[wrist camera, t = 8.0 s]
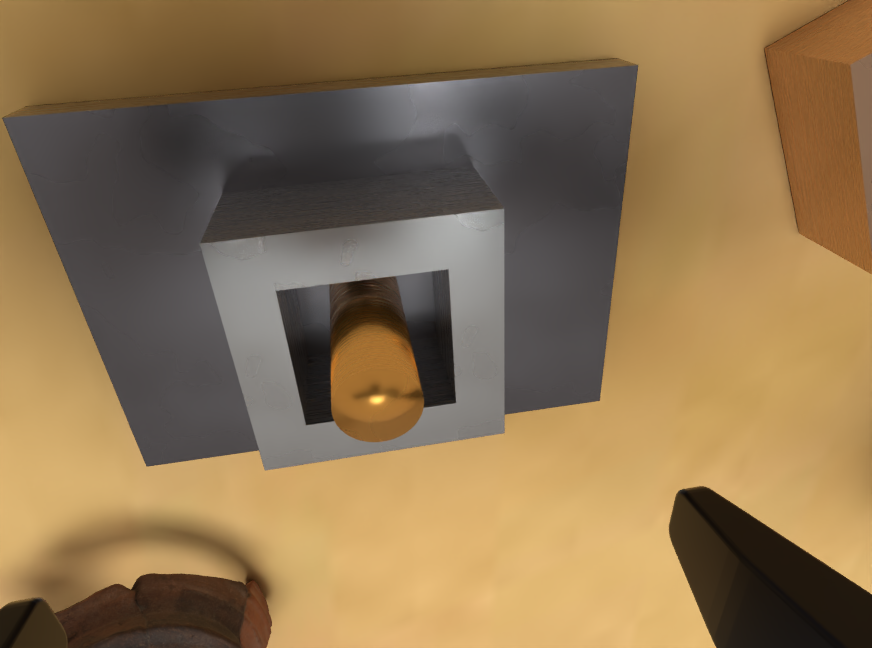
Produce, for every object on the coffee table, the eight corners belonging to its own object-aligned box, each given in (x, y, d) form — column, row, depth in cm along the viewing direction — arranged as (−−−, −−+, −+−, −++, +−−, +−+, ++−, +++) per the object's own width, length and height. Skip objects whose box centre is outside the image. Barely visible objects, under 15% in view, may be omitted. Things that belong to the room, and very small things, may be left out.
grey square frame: (472, 166, 15) (504, 208, 12) (478, 366, 18) (504, 433, 15) (222, 193, 14) (199, 244, 12) (273, 395, 17) (264, 470, 15)
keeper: (617, 58, 15) (773, 108, 10) (585, 378, 20) (677, 523, 15) (26, 106, 14) (-162, 196, 8) (156, 439, 19) (90, 623, 14)
